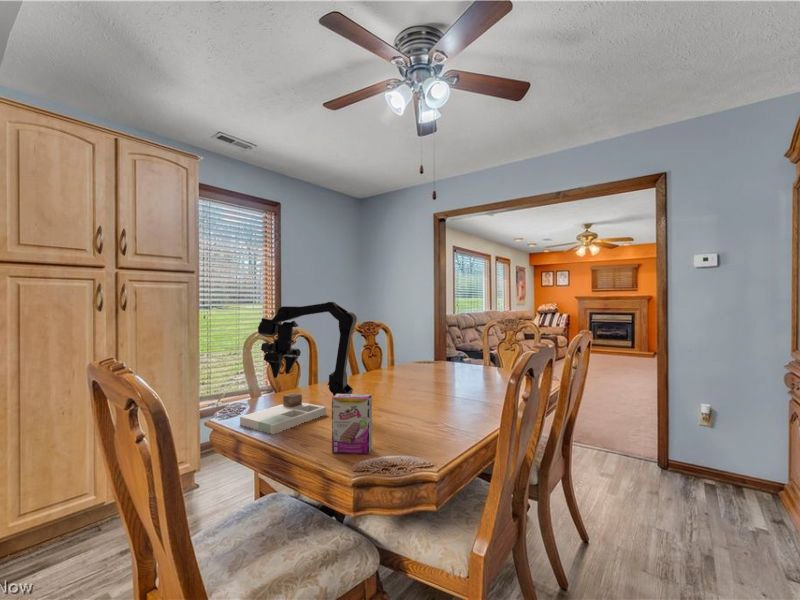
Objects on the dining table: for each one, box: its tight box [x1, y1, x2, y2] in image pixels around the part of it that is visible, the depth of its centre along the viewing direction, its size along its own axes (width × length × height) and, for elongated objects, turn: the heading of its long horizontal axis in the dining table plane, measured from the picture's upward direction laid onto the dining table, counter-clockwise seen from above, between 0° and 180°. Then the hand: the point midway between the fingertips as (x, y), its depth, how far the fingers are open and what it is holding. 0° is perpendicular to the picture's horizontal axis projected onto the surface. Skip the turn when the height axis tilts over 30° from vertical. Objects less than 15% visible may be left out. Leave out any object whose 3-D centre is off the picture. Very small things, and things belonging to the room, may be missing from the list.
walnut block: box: [282, 392, 303, 407], centre depth 151 cm, size 5×5×4 cm
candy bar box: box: [331, 393, 373, 455], centre depth 112 cm, size 11×5×16 cm, turn 84°
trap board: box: [239, 401, 327, 435], centre depth 142 cm, size 18×25×3 cm
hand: (281, 375), depth 154 cm, fingers open, 9 cm apart
